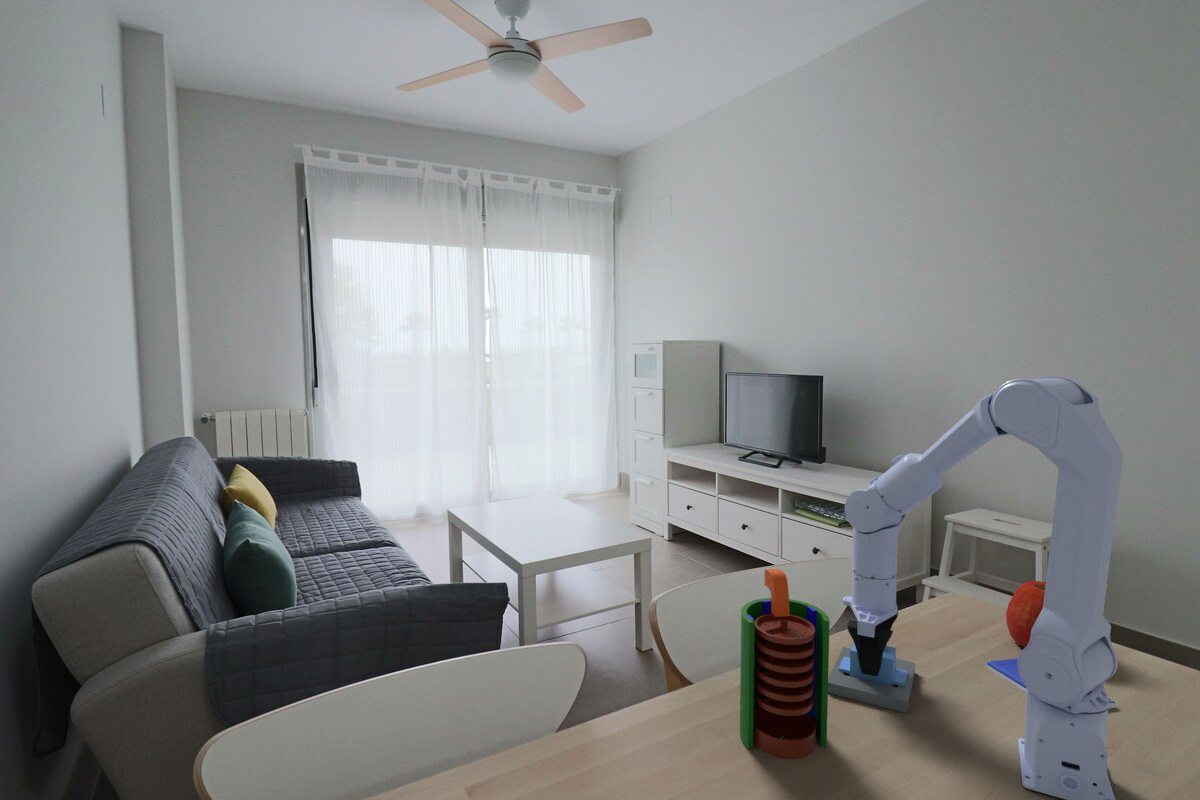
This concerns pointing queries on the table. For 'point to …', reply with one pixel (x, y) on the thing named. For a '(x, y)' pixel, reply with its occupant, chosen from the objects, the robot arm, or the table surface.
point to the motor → (783, 672)
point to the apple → (1025, 610)
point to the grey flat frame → (872, 686)
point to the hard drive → (1016, 674)
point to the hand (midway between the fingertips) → (872, 666)
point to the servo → (887, 670)
